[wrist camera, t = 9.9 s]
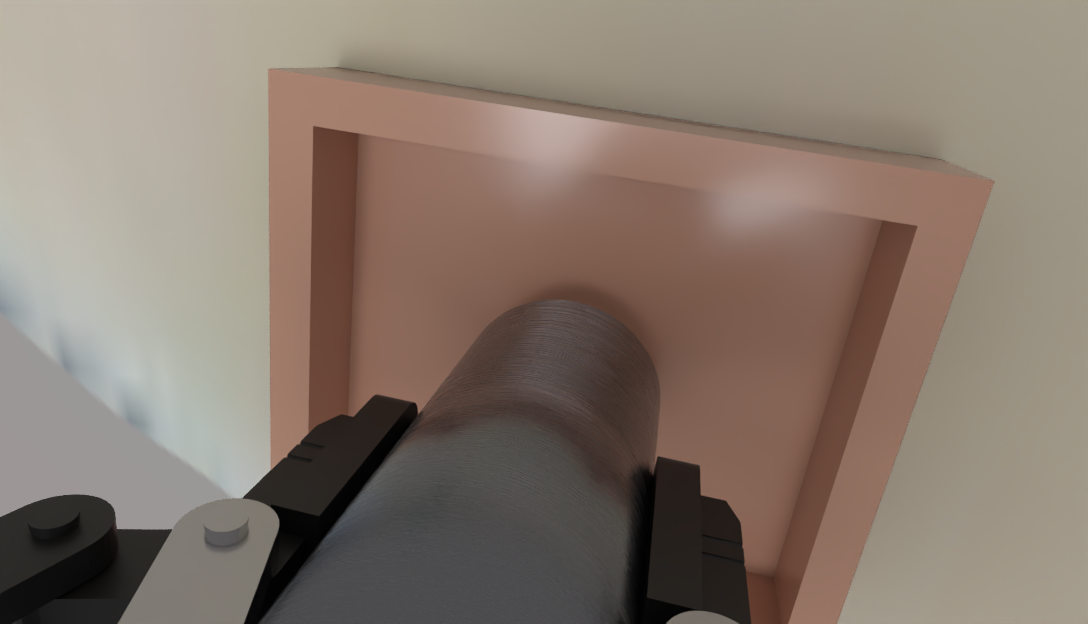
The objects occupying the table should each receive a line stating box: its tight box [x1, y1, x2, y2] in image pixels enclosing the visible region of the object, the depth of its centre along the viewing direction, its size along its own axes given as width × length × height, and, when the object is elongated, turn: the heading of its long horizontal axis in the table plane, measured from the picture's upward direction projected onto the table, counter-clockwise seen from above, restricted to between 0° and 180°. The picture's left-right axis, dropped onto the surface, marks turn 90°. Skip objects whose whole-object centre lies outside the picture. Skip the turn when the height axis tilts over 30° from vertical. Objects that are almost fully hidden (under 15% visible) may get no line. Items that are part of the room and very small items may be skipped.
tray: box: [268, 67, 994, 624], centre depth 17 cm, size 14×12×3 cm
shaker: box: [257, 300, 660, 624], centre depth 10 cm, size 5×5×12 cm
